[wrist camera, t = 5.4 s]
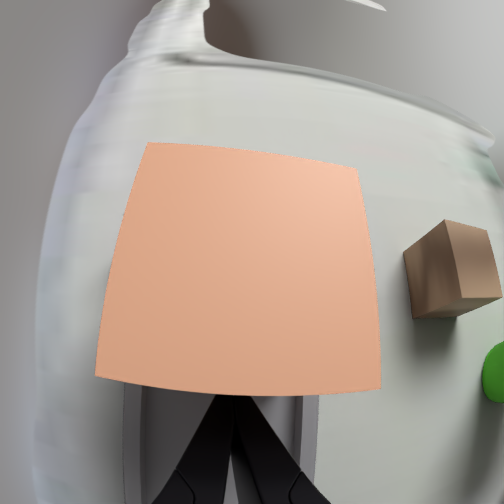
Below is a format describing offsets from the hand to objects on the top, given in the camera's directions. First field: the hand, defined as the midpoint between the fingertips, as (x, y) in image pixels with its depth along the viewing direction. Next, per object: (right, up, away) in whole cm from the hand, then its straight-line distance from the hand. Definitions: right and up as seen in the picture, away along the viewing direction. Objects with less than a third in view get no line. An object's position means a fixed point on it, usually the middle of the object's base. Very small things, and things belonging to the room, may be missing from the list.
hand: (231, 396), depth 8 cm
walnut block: (+14, +2, +11) cm, 18 cm away
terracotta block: (-1, +1, +6) cm, 7 cm away
